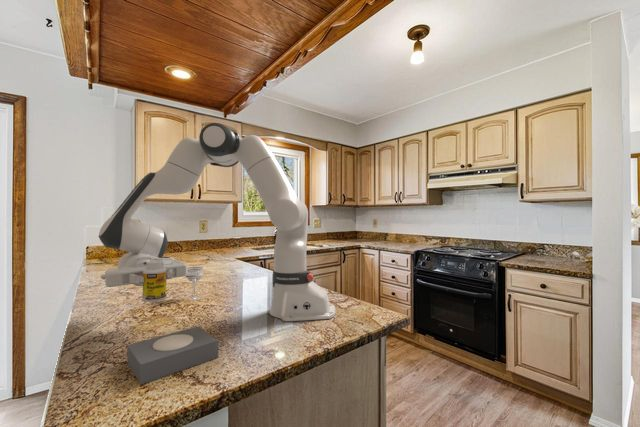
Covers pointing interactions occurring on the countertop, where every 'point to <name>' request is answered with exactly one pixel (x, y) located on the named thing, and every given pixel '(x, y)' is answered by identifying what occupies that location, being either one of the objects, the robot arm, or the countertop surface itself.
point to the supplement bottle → (154, 281)
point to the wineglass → (194, 278)
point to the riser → (170, 353)
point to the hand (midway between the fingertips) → (155, 277)
